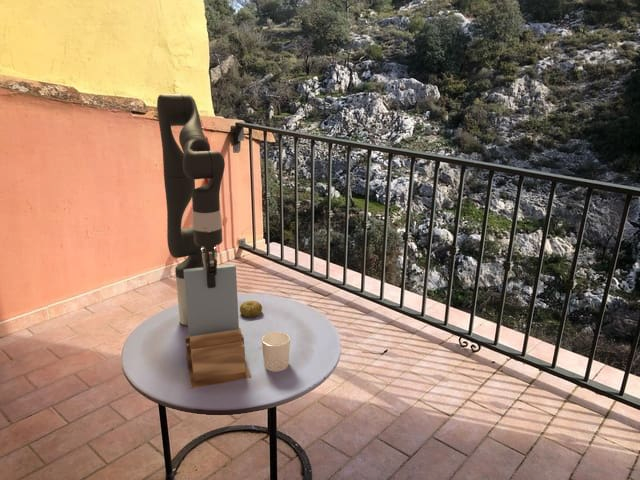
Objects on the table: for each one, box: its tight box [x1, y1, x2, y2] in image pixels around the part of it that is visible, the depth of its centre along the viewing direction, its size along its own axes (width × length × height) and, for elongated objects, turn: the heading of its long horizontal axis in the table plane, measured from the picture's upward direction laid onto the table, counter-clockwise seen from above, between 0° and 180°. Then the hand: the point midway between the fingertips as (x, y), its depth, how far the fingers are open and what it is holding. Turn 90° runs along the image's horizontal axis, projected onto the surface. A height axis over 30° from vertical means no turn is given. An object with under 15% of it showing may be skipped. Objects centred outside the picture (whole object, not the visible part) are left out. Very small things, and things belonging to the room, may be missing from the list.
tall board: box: [183, 263, 240, 337], centre depth 135 cm, size 2×14×20 cm, turn 109°
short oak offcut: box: [191, 341, 246, 381], centre depth 132 cm, size 3×14×8 cm, turn 109°
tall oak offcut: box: [190, 328, 243, 370], centre depth 135 cm, size 3×14×10 cm, turn 109°
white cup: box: [261, 331, 291, 373], centre depth 136 cm, size 8×8×10 cm
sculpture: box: [239, 300, 263, 318], centre depth 171 cm, size 8×4×8 cm
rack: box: [184, 327, 252, 389], centre depth 135 cm, size 16×16×8 cm
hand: (211, 285), depth 133 cm, fingers closed on tall board, 2 cm apart
